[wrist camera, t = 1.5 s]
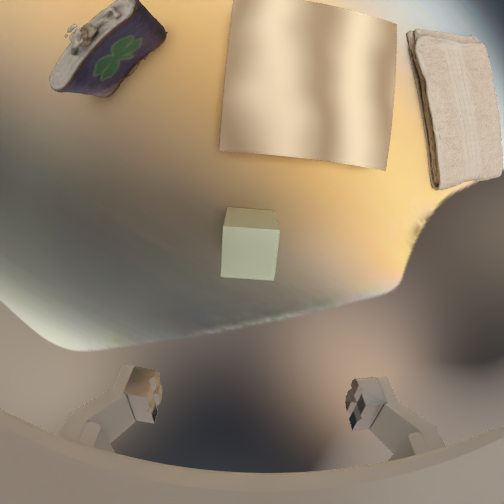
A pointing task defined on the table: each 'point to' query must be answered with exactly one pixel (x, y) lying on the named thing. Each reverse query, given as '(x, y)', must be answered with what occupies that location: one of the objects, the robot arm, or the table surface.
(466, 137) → the washcloth
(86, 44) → the dark blue flattened pouch
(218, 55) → the table surface
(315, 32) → the birch block
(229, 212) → the sage block
